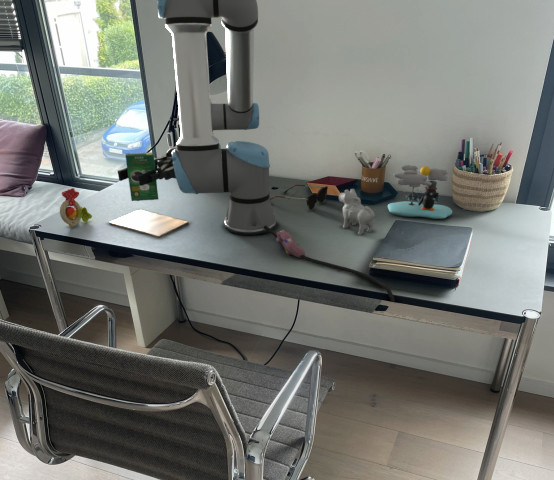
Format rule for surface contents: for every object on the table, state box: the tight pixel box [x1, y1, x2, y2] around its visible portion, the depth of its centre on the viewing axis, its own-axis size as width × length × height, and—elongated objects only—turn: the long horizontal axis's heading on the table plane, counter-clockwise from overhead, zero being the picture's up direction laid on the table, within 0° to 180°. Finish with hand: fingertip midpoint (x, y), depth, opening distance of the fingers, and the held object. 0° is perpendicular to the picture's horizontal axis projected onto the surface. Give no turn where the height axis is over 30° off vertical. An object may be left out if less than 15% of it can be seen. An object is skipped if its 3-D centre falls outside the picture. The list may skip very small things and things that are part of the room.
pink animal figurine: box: [275, 229, 306, 259], centre depth 151 cm, size 10×5×7 cm, turn 17°
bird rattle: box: [59, 187, 93, 228], centre depth 167 cm, size 6×11×9 cm
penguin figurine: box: [387, 164, 453, 220], centre depth 171 cm, size 20×11×15 cm, turn 72°
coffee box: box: [125, 152, 159, 202], centre depth 162 cm, size 8×3×13 cm, turn 101°
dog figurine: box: [338, 188, 375, 236], centre depth 164 cm, size 5×13×11 cm, turn 38°
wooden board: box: [109, 208, 189, 238], centre depth 170 cm, size 20×13×1 cm, turn 57°
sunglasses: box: [270, 184, 329, 211], centre depth 184 cm, size 14×16×5 cm
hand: (129, 178), depth 158 cm, fingers closed on coffee box, 7 cm apart
